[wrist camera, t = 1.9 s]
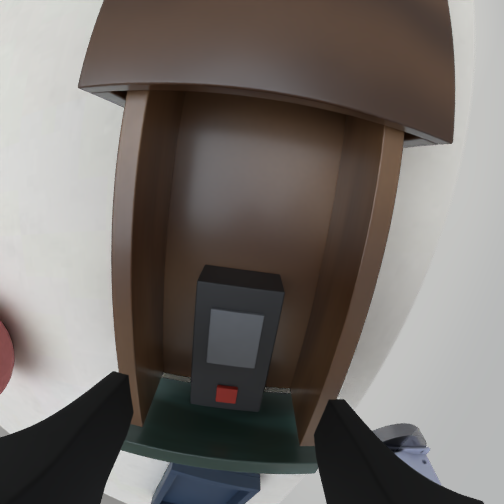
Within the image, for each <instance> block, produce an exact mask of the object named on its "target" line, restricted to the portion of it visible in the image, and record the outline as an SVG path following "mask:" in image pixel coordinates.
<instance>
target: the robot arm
mask: <svg viewBox="0 0 504 504" xmlns="http://www.w3.org/2000/svg"><path fill="white" fill-rule="evenodd" d="M133 413H134V411H133V405H132V398H131V391H130V383H129V375H126V374H122V373H118V372H115V371H113V372H111V373H110V374H109V375H107V376H106V377H105V378H104V379H102V380H101V381H100V382H99V383H97V384H96V385H95V386H93V387H92V388H91V389H90V390H88V391H87V392H86V393H84V394H83V395H82V396H80V397H79V398H77V399H76V400H75V401H73V402H72V403H70V404H69V405H67V406H66V407H64V408H63V409H61V410H60V411H58V412H57V413H55V414H53V415H52V416H50V417H48V418H46V419H45V420H43V421H41V422H39V423H37V424H35V425H33V426H31V427H28V428H26V429H23V430H21V431H18V432H15V433H13V434H10V435H7V436H4V437H0V504H100V503H101V499H102V495H103V492H104V488H105V485H106V482H107V480H108V477H109V475H110V472H111V470H112V468H113V465H114V463H115V461H116V459H117V456H118V454H119V452H120V450H121V448H122V445H123V443H124V441H125V438H126V436H127V434H128V430H129V427H130V424H131V420H132V417H133ZM314 442H315V453H316V460H317V464H318V468H319V473H320V477H321V481H322V485H323V489H324V494H325V498H326V502H327V504H484V503H483V502H482V501H480V500H477V499H473V498H470V497H467V496H464V495H461V494H458V493H456V492H454V491H451V490H449V489H447V488H445V487H443V486H441V483H440V481H439V479H438V477H437V475H436V473H435V471H434V469H433V467H432V465H431V463H430V461H429V459H428V458H427V456H426V454H427V453H428V452H429V451H430V448H428V447H387V446H386V445H385V444H384V443H383V442H382V441H381V440H380V439H379V438H378V437H377V436H376V435H375V434H374V433H373V432H372V431H371V430H370V429H369V427H368V426H367V425H366V424H365V423H364V422H363V421H362V420H361V419H360V417H359V416H358V415H357V414H356V413H355V411H354V410H353V409H352V408H351V407H350V406H349V404H348V403H347V402H346V401H345V400H344V399H329V400H328V402H327V405H326V407H325V410H324V412H323V414H322V417H321V419H320V421H319V424H318V426H317V428H316V430H315V433H314Z"/></svg>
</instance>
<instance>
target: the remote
mask: <svg viewBox="0 0 504 504" xmlns="http://www.w3.org/2000/svg"><path fill="white" fill-rule="evenodd" d="M284 296H285V291H284V288H283V284H282V280H281V277H280V275H279V274H272V273H264V272H257V271H249V270H242V269H234V268H227V267H219V266H212V265H205V266H204V268H203V270H202V272H201V274H200V276H199V278H198V280H197V288H196V300H195V314H194V329H193V347H192V367H191V392H190V403H191V404H196V405H202V406H209V407H216V408H224V409H233V410H242V411H252V412H259V410H260V406H261V402H262V397H263V393H264V389H265V385H266V380H267V376H268V371H269V367H270V363H271V358H272V353H273V349H274V344H275V340H276V335H277V330H278V325H279V320H280V316H281V311H282V306H283V301H284Z"/></svg>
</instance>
